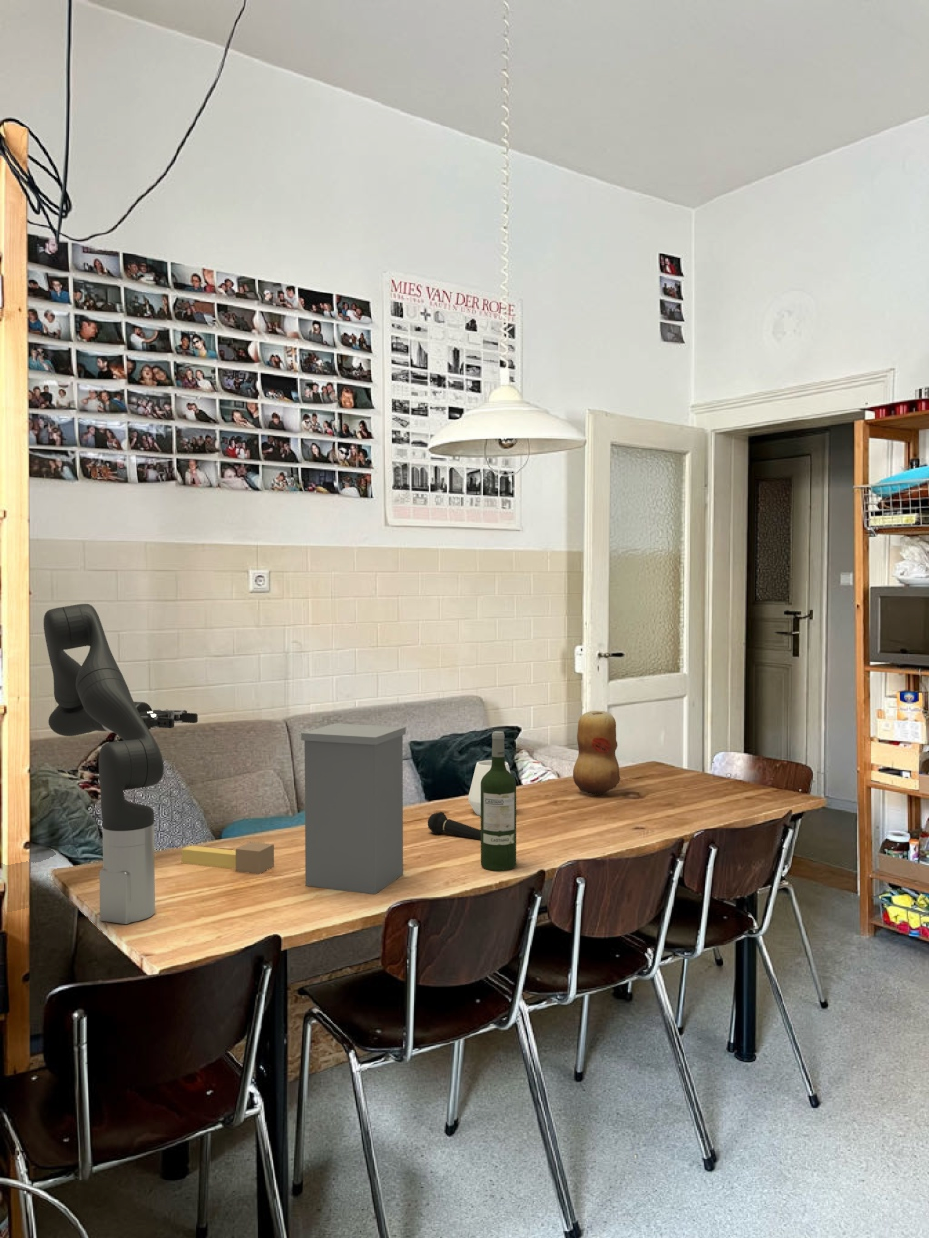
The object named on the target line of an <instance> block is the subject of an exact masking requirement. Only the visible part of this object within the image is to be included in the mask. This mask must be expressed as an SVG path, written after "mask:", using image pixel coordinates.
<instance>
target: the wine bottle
mask: <svg viewBox="0 0 929 1238" xmlns="http://www.w3.org/2000/svg"><path fill="white" fill-rule="evenodd" d="M491 739H492V743H491V746H492V748H491V760H492V766H491V769H490V770H489V771H488V772H487V773H486V774H485V775H484V776H483V778H482V780H481V816H480V830H481V840H480V865H481V867H482V869H485V870H488V871H493V872H505V871H506V872H507V871H510V870H513V869H514V868H516V865H517V782H516V779H515V777H514V776H513V774H511V771H510V772H508V771H507V770H506V767H505V762H506V756H505V732H504V731H503V730H502V731H501V730H499V731H498V730H495V731H492V734H491Z"/></svg>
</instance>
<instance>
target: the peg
mask: <svg viewBox="0 0 929 1238" xmlns="http://www.w3.org/2000/svg"><path fill="white" fill-rule="evenodd" d="M274 846H275V844H273V843H265V842H253V841H250V842H247V843H245V844H244V845H242V846H239V847H237V848H235V849H234V850H233V849H226V848H217V847H208V846H207V847H205V846H197V845H196V846H195V845H189V846H186V847H183V848H182V849H181V863H182V862H183V863H182V864H184V863H189V864H188V865H193V864H198V865H197V866H202V865H205V866H204V867H211V866H212V868H220V869H221V868H222V869H229V868H235V869H234V870H235V872H236V871H239V872H238V873H245V872H249V873H248V874H254V873H256V874H255V875H261V874H263V873H265V872H266V871H268V870H270V869H272V868H274V867H275V847H274ZM269 868H270V869H269ZM267 869H268V870H267ZM265 870H266V871H265ZM264 871H265V872H264ZM262 872H263V873H262ZM260 873H261V874H260Z"/></svg>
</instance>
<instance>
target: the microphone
mask: <svg viewBox="0 0 929 1238" xmlns="http://www.w3.org/2000/svg"><path fill="white" fill-rule="evenodd" d="M427 828H428V829H429V830H430V831H431V832H432V834H434V835H439V833H440V834H442V833H446V834H450V835H453V837H459V838H460V837H464V838H468V839H473V840H478V841H481V829H478V828H476V827H474V826H471V825H467V824H464V823H461V822H459V821H456V820H453V819H451V818H450V819H449V818H448V817H447V815H446V814H445V813H444V812H443V811H442V812H441V811H440V812H434V813H432V814H431V815H430V816H429V818H428V820H427Z"/></svg>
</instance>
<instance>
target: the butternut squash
mask: <svg viewBox="0 0 929 1238" xmlns="http://www.w3.org/2000/svg"><path fill="white" fill-rule="evenodd" d="M576 741H577V747H578V755H577V759H576V761H575V763H574V766H573V768H572V769H573V770H572V779H573V782H574V784H575V786H576V787H578V790H580V791H581V792H584V793H585V792H586V793H587V794H590V795H595V796H597V795H598V796H599V795H600V796H603V795H604V794H606V793H608V792H609V791H612V790H613V789H615V788H616V787H617V786H618V784H619V782H620V781H621V777H620V765H619V762H618V760H617V756H616V750H617V748H618V741H617V722H616V719H615V717H614V716H613V715H612V714H611V713H609V712H608V711H605V710H591V711H588V712H584V713H583V714H582V715H581V716H580V717H579V719H578V723H577V733H576Z"/></svg>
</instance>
